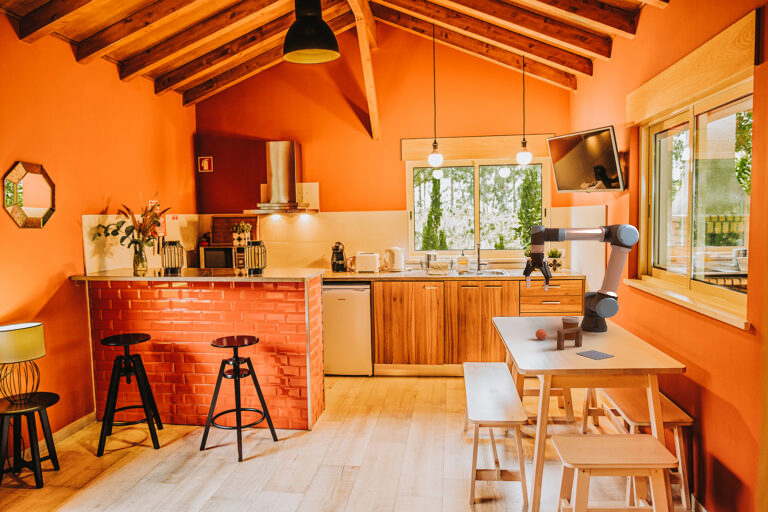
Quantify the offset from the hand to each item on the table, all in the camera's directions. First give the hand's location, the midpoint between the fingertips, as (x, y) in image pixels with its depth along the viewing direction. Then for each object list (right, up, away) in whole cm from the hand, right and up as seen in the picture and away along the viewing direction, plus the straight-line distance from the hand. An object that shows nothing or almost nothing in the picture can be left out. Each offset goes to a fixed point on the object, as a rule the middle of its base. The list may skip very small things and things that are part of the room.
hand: (536, 289), depth 297 cm
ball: (-1, -24, -10) cm, 27 cm away
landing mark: (+16, -30, -42) cm, 54 cm away
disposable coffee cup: (+16, -27, -8) cm, 33 cm away
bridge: (+9, -29, -28) cm, 41 cm away
